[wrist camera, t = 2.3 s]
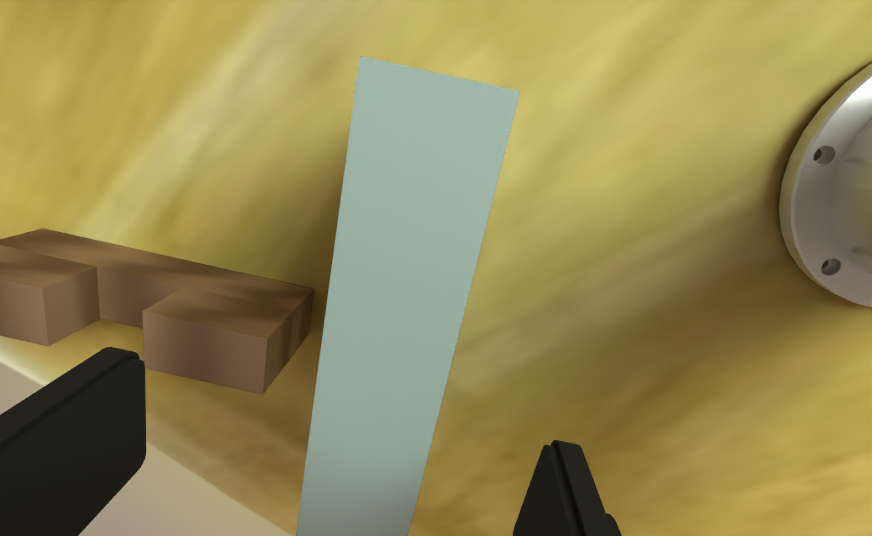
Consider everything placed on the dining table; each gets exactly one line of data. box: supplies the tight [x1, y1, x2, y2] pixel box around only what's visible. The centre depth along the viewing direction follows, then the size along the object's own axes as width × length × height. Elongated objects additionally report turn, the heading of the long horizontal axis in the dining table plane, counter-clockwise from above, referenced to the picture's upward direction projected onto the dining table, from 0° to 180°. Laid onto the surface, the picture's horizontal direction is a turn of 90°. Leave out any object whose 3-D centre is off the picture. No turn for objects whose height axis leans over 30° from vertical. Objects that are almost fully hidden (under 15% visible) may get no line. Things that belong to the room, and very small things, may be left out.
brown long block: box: [0, 229, 314, 395], centre depth 23 cm, size 16×3×6 cm, turn 78°
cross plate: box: [296, 56, 520, 536], centre depth 17 cm, size 16×3×14 cm, turn 168°
